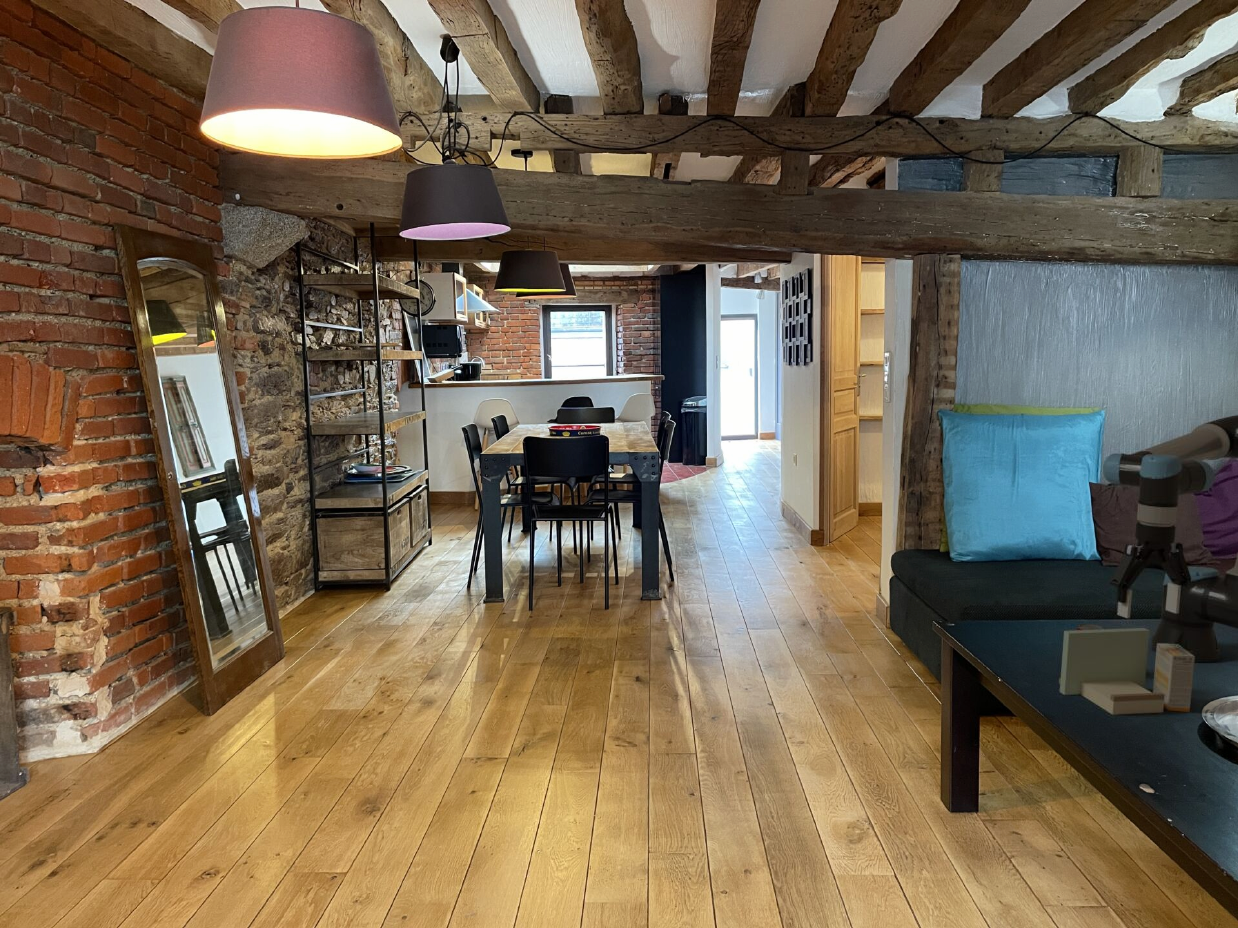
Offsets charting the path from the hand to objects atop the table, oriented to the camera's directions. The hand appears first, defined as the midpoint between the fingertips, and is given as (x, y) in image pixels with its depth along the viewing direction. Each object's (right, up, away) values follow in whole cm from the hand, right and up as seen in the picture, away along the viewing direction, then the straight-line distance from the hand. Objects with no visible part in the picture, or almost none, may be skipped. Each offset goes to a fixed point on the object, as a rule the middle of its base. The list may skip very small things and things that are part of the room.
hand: (1147, 614), depth 189 cm
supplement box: (+5, -21, 0) cm, 21 cm away
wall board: (-6, -20, +3) cm, 21 cm away
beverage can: (-4, -18, +18) cm, 26 cm away
